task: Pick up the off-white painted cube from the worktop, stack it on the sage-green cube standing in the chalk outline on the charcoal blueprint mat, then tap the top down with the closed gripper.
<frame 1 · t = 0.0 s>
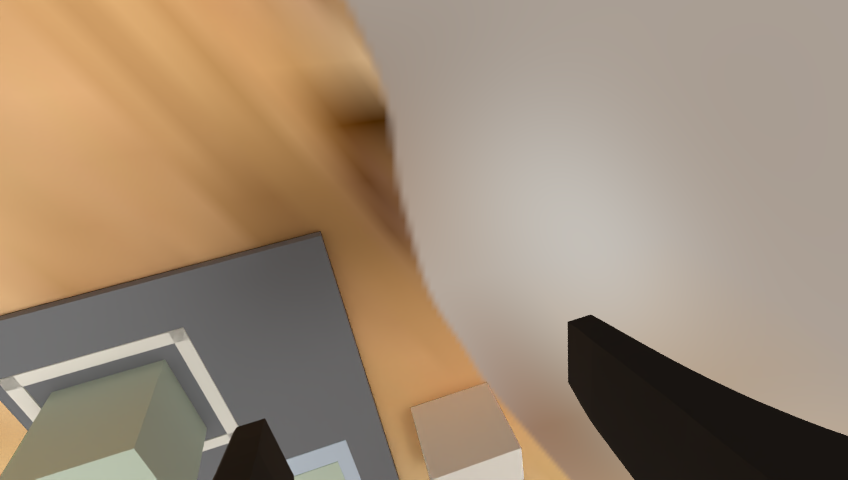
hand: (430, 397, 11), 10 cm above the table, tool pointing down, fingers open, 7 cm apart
top block: (454, 420, 27), on the table
base block: (134, 411, 20), resting on blueprint mat
blueprint mat: (237, 439, 23), on the table
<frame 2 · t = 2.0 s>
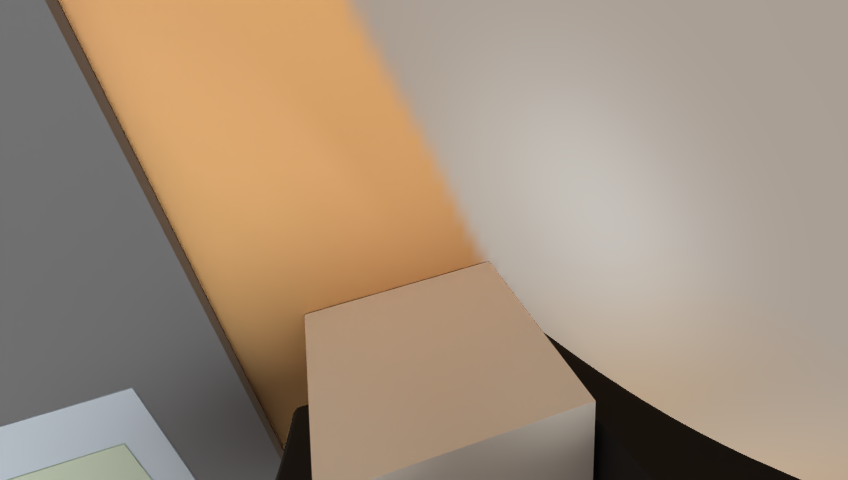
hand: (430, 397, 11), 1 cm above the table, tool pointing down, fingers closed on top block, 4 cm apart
top block: (415, 356, 12), on the table, touching gripper
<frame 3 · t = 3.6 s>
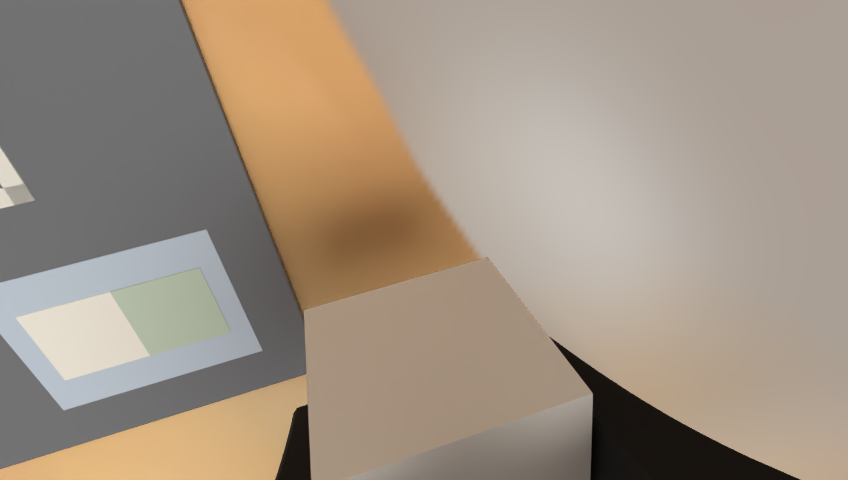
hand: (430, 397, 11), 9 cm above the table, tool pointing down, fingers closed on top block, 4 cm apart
top block: (414, 352, 12), point 8 cm above the table, touching gripper
blueprint mat: (31, 211, 15), on the table
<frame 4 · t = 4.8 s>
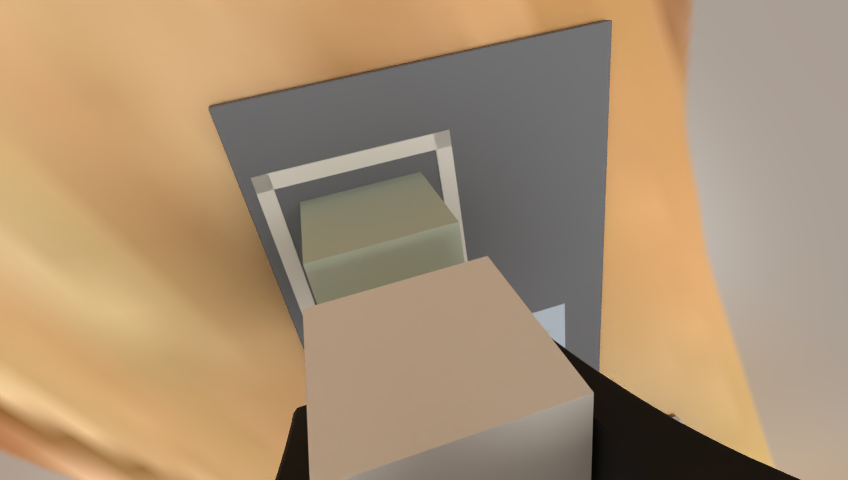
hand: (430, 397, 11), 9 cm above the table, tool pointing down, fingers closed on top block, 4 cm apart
top block: (414, 351, 12), point 7 cm above the table, touching gripper
base block: (374, 239, 18), resting on blueprint mat
blueprint mat: (457, 294, 20), on the table
when the fingers open (7 cm above the table, at t = 5.5 s): top block stays where it is, resting on base block.
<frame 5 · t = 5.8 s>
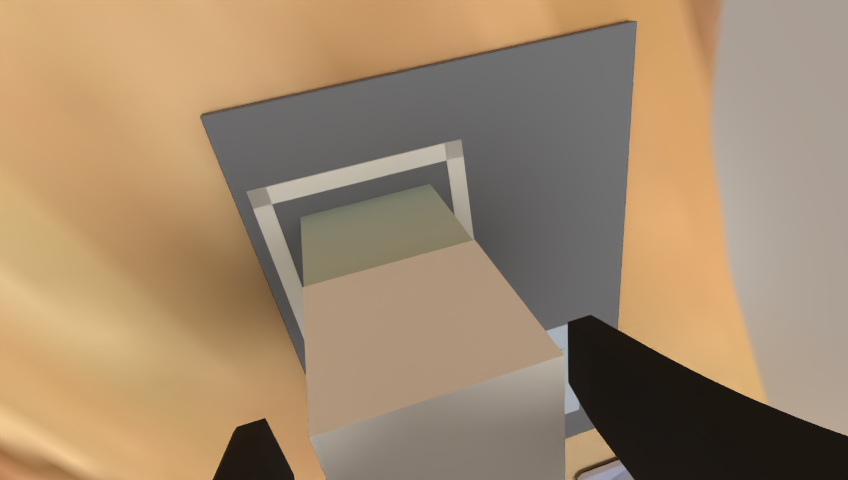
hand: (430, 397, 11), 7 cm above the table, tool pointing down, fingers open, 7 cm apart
top block: (406, 330, 13), point 5 cm above the table, touching base block
base block: (380, 255, 17), resting on blueprint mat, touching top block
blueprint mat: (467, 311, 19), on the table
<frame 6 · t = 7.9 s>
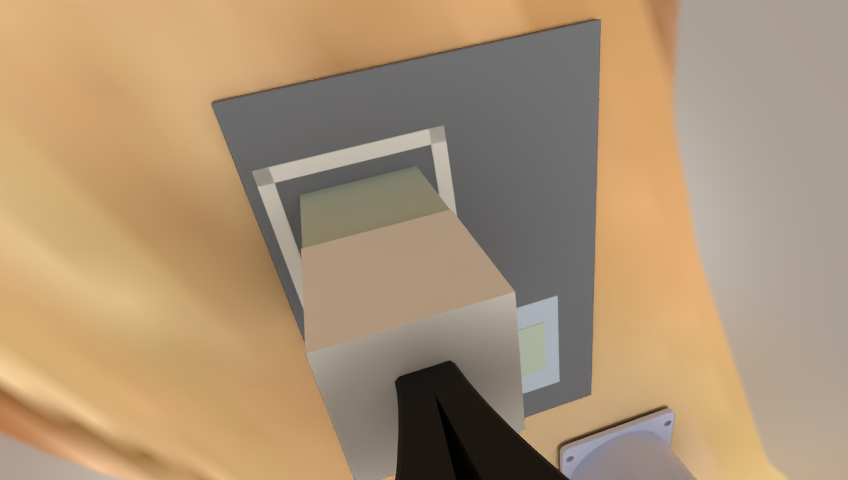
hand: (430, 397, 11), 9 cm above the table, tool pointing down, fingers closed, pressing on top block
top block: (392, 290, 14), point 5 cm above the table, touching base block, gripper
base block: (372, 231, 18), resting on blueprint mat, touching top block
blueprint mat: (452, 286, 21), on the table
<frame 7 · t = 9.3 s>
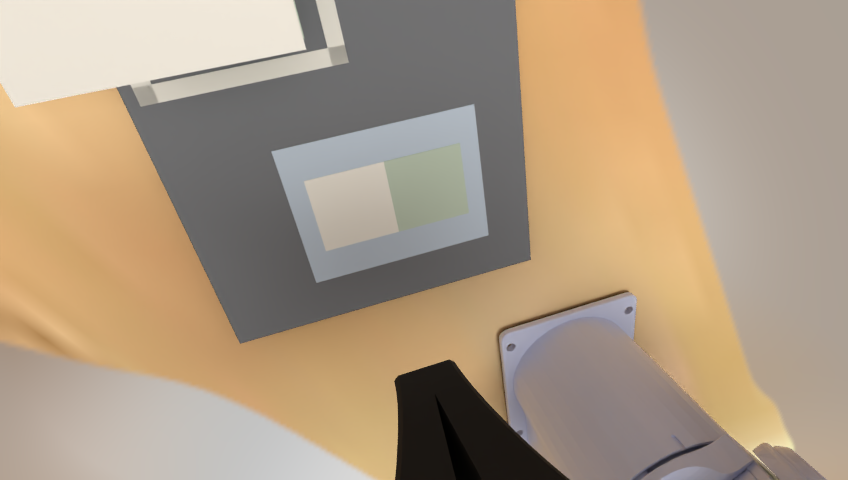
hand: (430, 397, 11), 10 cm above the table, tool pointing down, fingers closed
blueprint mat: (335, 77, 17), on the table
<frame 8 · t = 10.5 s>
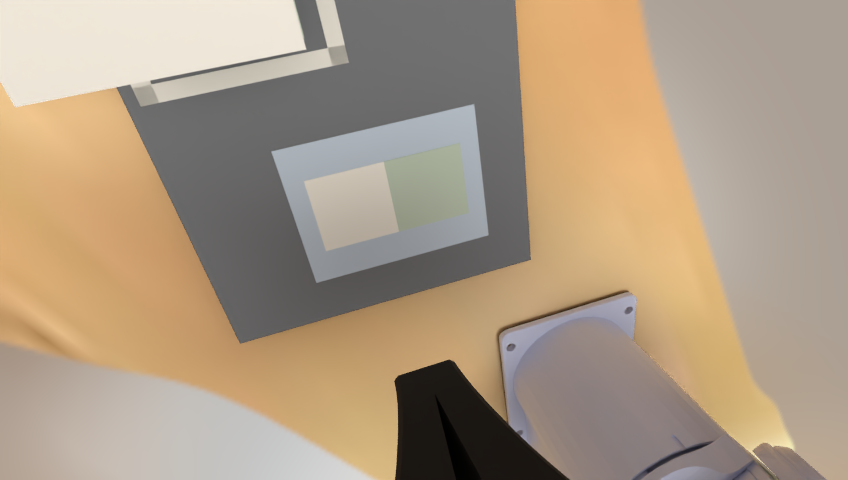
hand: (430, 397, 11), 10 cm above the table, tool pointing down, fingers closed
blueprint mat: (335, 77, 17), on the table
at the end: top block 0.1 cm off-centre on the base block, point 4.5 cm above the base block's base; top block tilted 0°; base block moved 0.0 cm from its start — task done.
